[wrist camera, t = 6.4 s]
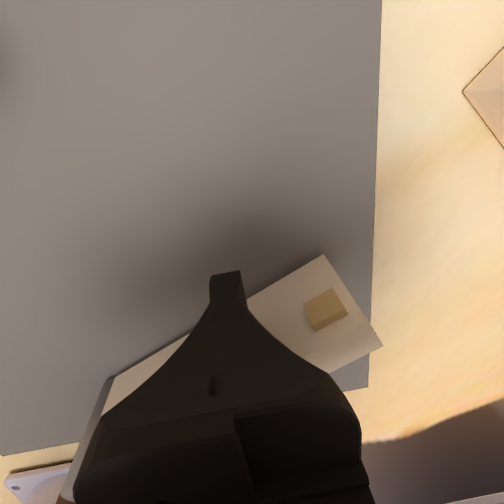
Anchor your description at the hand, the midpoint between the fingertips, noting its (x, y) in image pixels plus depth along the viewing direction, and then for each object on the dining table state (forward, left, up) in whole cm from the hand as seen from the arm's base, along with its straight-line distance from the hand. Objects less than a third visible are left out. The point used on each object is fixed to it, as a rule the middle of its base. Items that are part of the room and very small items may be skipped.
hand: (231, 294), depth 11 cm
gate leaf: (-3, +2, -2) cm, 4 cm away
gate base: (0, +4, -3) cm, 6 cm away
